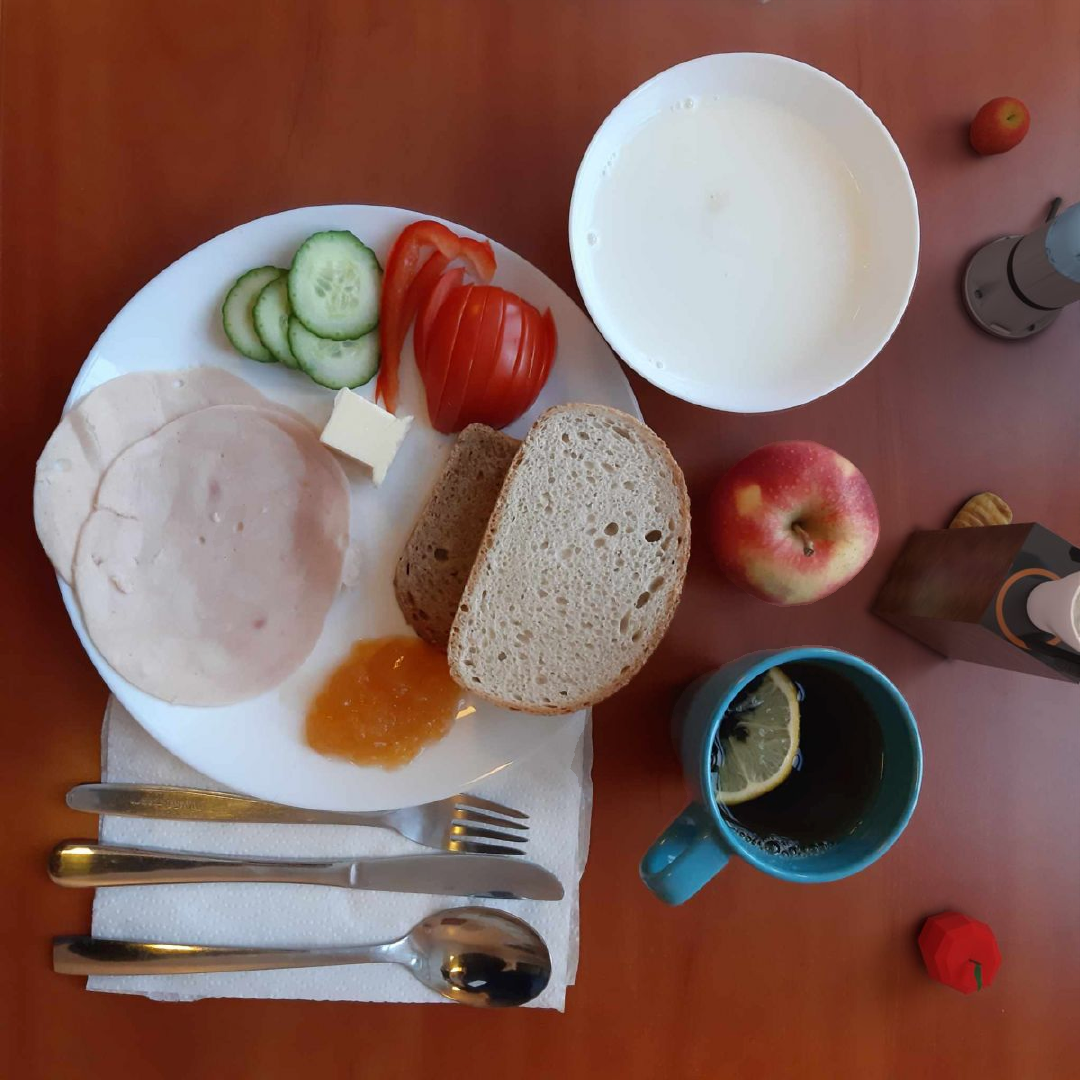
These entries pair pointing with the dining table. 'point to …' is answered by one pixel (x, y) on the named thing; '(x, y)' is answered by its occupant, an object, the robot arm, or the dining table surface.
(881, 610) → the stove stand
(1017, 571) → the hob plate
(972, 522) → the pastry
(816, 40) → the dining table surface
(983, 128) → the apple
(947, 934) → the apple
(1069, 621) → the cup
